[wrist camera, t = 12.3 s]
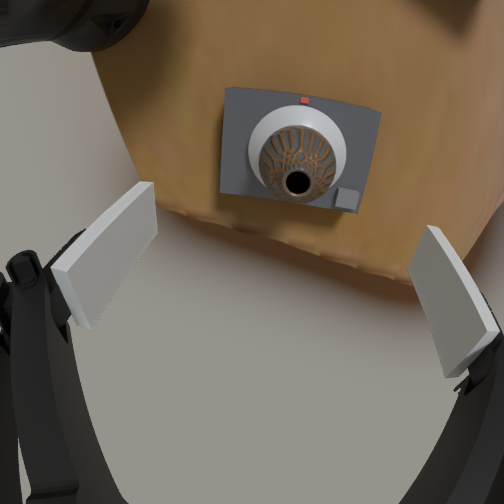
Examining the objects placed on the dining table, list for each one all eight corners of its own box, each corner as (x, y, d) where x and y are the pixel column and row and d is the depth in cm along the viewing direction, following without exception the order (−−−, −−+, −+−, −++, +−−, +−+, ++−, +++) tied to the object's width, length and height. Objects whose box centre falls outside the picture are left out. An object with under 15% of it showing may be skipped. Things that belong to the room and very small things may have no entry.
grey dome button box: (227, 180, 35) (217, 196, 31) (233, 87, 28) (223, 88, 24) (351, 199, 34) (358, 218, 30) (371, 108, 27) (384, 114, 23)
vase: (286, 107, 24) (283, 118, 17) (344, 146, 26) (363, 174, 19) (250, 162, 28) (233, 195, 21) (305, 196, 30) (308, 240, 22)
